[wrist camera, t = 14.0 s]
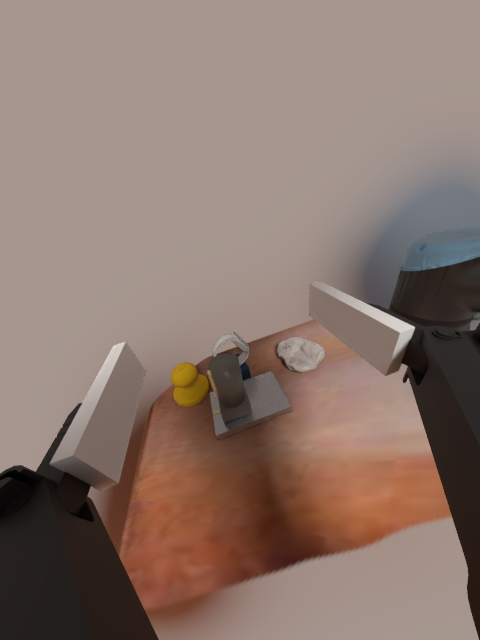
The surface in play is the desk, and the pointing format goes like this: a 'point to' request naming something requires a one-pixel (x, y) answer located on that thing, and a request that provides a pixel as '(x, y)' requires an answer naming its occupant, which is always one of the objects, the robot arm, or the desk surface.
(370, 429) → the desk surface
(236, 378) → the cylinder
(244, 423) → the hub plate
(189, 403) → the yellow stacked oval discs
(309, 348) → the fossil
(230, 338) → the watch
